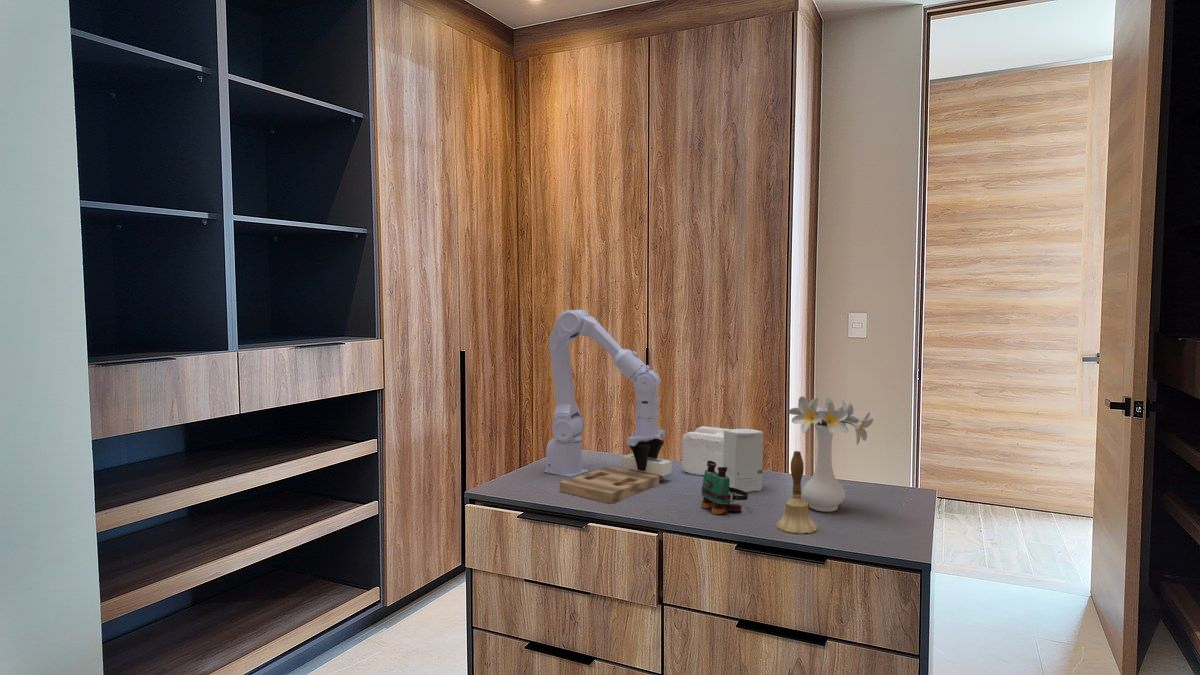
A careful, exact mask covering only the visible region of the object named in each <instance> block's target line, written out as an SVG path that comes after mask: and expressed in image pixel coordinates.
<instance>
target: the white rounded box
mask: <svg viewBox="0 0 1200 675" xmlns="http://www.w3.org/2000/svg"><path fill="white" fill-rule="evenodd" d="M724 430H730V428H723V427H722V428H721V427H713V426H704V425H702V426H700V427H697V428H695V430H694V431H689V432H686V433H684V434H683V435H682V437H681V468H682V470H683V471H684V472H686V473H688V474H690V475H694V474H695V475H696V476H704V473H705V470H708V466H707V461H713V462H715V463H716V467H715V472H717V473H718V467H723V451H724Z"/></svg>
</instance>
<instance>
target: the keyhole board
mask: <svg viewBox="0 0 1200 675" xmlns="http://www.w3.org/2000/svg"><path fill="white" fill-rule="evenodd" d="M657 486H660V481H659V476H657V475H652V474H647V473H641V472H636V471H631V470H630V469H626V468H622V467H621V468H620V467H615V466H606V467H602V468H599V469H596V470H593V471H590V472H586V473H583V474H580V475H576V476H573V477H569V478H568V479H564V480H561V481H559V492H560V491H561V493H564V492H565V494H568V493H569V495H572V494H573V495H574V496H576V497H577V496H578V497H581V496H582V497H581V498H585V499H589V498H590V500H595V501H597V502H602V501H603V502H604V503H607V504H614V503H617V502H620V501H621V500H623V499H625V498H629V497H631V496H634V495H636V494H639V493H641V492H645V491H647V490H650V489H651V488H655V487H657ZM573 495H572V496H573Z"/></svg>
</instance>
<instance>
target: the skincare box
mask: <svg viewBox="0 0 1200 675" xmlns="http://www.w3.org/2000/svg"><path fill="white" fill-rule="evenodd" d="M729 429H730V428H729ZM763 457H764V431H761V430H758V429H753V428H734V429H732V428H731V429H730V430H724V451H723V467H727V472H726V474H725V476H727V477H729V478H730V484H729V487H732V488H736V489H739V490H742V491H745V492H746V493H749V492H760V491H763V468H764V466H763V462H764V460H763V459H764V458H763ZM732 493H734V492H732ZM734 494H735V493H734Z"/></svg>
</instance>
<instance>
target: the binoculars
mask: <svg viewBox="0 0 1200 675" xmlns="http://www.w3.org/2000/svg"><path fill="white" fill-rule="evenodd" d="M707 466H708V470H705V473H704V475H703V480H702V486H701V496H702V497H703V498H702V499H703V500H702V501H701V502H700V507H701V508H703V509H709V508H710V509H711V514H713V515H721V514H724V513H725V511H733V512H741V511H742V505H740V504H737V503H736V504H735V503H734V501H747V500H748V498H749V492H745V491H742V490H739V489H736V488H732V487H729V484H730V478H729V477H727V476H725V474H726V472H727V467H718V473H717V472H715V467H716V463H715V462H713V461H707ZM733 492H734V493H733ZM737 494H738V495H737ZM731 495H732V496H731Z"/></svg>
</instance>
